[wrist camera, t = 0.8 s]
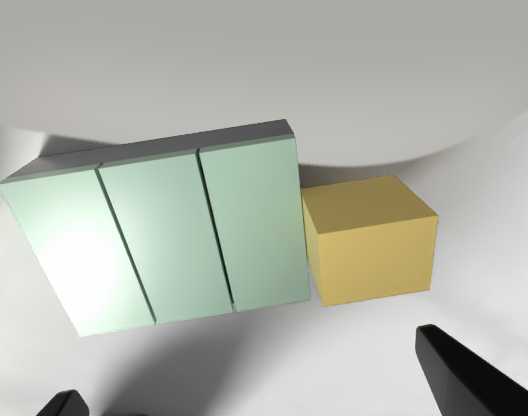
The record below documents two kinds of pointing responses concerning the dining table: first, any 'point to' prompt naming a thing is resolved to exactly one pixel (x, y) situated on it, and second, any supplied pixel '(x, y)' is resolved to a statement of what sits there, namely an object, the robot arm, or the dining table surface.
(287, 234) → the grooved mint slab
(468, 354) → the robot arm
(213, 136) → the tub
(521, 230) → the dining table surface
